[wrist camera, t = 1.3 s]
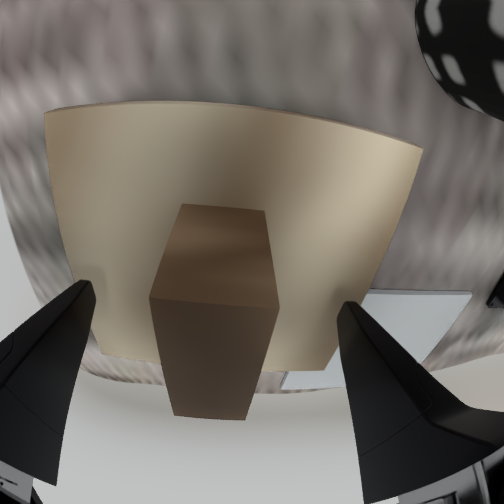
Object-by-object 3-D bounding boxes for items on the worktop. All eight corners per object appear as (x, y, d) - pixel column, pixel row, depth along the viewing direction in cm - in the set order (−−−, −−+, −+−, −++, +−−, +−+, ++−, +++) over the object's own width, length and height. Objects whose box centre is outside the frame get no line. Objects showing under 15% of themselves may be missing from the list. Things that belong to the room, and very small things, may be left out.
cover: (411, 142, 8) (509, 207, 4) (321, 358, 15) (337, 436, 11) (57, 108, 7) (-49, 157, 3) (106, 342, 14) (84, 418, 10)
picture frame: (470, 291, 19) (472, 295, 19) (405, 374, 27) (407, 378, 26) (321, 286, 18) (323, 292, 17) (280, 385, 25) (280, 389, 25)
